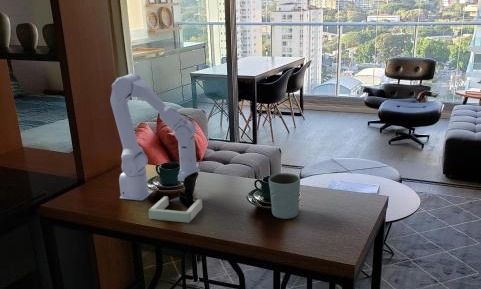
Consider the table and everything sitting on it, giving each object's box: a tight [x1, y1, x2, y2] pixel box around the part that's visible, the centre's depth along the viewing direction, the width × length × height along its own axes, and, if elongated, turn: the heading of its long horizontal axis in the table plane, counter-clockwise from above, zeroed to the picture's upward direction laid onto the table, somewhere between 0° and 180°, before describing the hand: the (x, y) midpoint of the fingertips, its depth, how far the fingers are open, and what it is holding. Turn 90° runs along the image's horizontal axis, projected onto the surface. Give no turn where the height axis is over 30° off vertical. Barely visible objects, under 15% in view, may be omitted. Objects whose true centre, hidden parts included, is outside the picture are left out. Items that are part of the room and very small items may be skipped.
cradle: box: [148, 195, 203, 224], centre depth 154 cm, size 14×12×3 cm
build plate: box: [168, 188, 206, 210], centre depth 163 cm, size 12×7×5 cm, turn 46°
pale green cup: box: [268, 172, 301, 220], centre depth 150 cm, size 10×10×12 cm
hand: (190, 193), depth 166 cm, fingers closed
